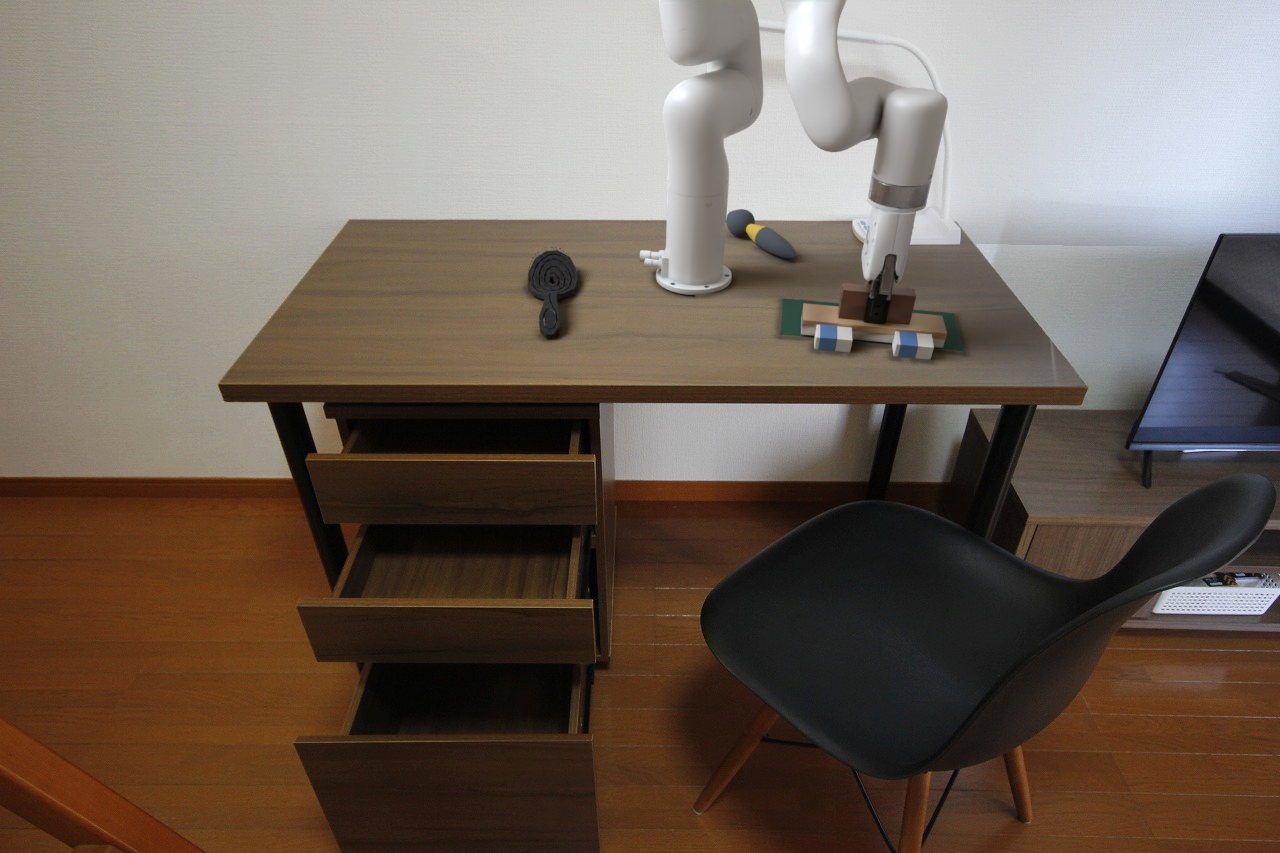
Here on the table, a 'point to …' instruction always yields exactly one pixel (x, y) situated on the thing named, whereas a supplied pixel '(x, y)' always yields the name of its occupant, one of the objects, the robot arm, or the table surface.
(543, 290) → the hairbrush
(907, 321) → the scrub brush
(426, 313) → the table surface
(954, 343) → the desk mat
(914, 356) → the eraser right
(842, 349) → the eraser left
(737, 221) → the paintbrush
